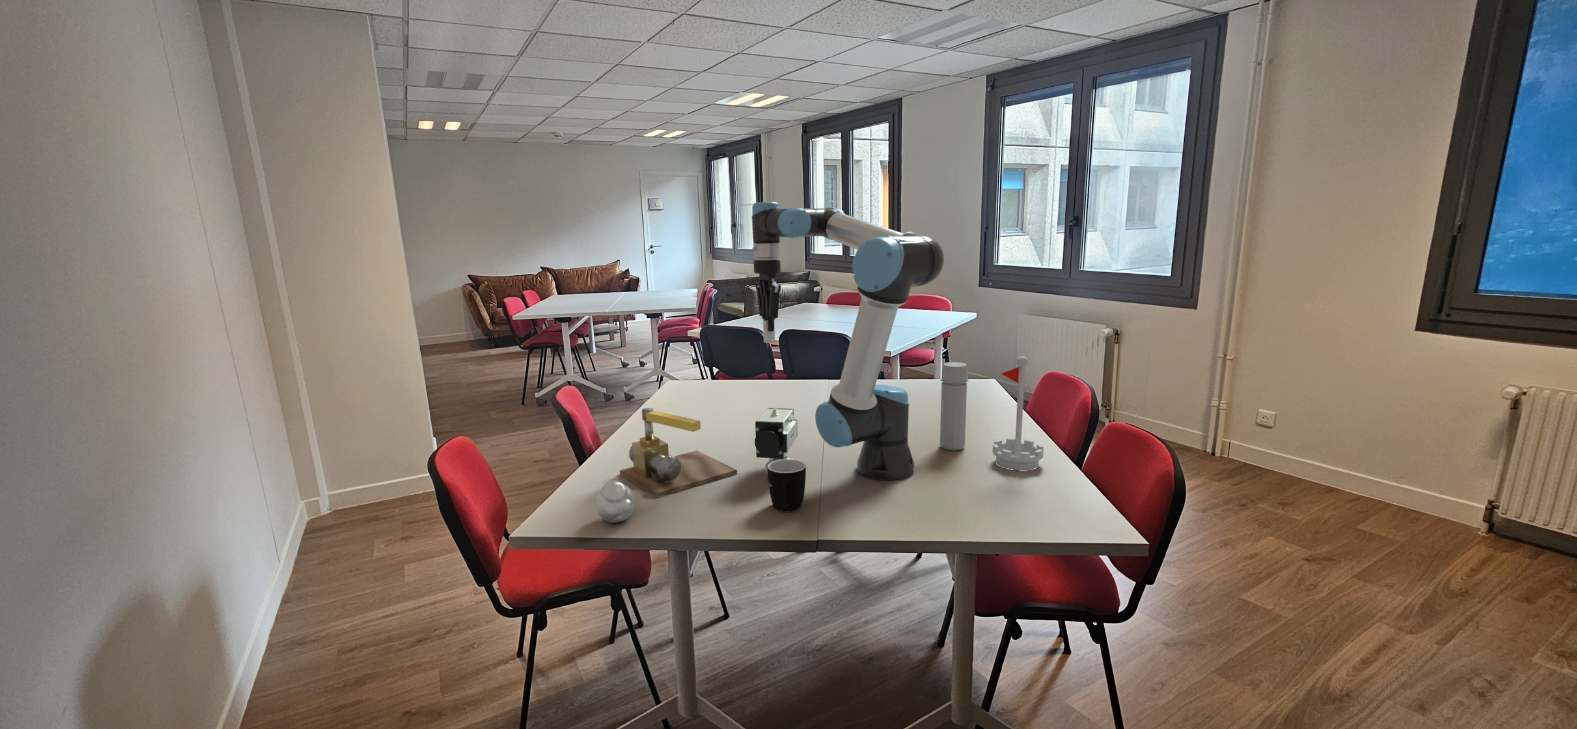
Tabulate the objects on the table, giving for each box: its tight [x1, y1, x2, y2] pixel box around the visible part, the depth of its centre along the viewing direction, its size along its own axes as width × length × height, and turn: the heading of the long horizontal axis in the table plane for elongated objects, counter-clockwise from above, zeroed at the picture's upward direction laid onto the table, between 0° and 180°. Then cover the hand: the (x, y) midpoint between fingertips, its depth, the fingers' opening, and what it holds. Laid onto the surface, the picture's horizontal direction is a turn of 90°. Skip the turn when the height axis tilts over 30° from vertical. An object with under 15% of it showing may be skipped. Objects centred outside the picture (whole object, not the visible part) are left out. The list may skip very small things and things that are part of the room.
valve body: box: [628, 420, 681, 483], centre depth 174 cm, size 7×17×14 cm, turn 38°
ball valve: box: [754, 407, 799, 476], centre depth 176 cm, size 18×8×18 cm, turn 168°
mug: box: [767, 459, 807, 512], centre depth 154 cm, size 12×9×10 cm
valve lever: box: [641, 407, 701, 433], centre depth 169 cm, size 20×3×3 cm, turn 53°
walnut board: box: [619, 450, 738, 499], centre depth 178 cm, size 24×21×1 cm
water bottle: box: [939, 361, 969, 452], centre depth 193 cm, size 9×8×25 cm
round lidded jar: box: [594, 480, 637, 524], centre depth 149 cm, size 9×10×10 cm
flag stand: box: [992, 355, 1044, 470], centre depth 178 cm, size 13×13×30 cm
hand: (769, 342), depth 190 cm, fingers closed
